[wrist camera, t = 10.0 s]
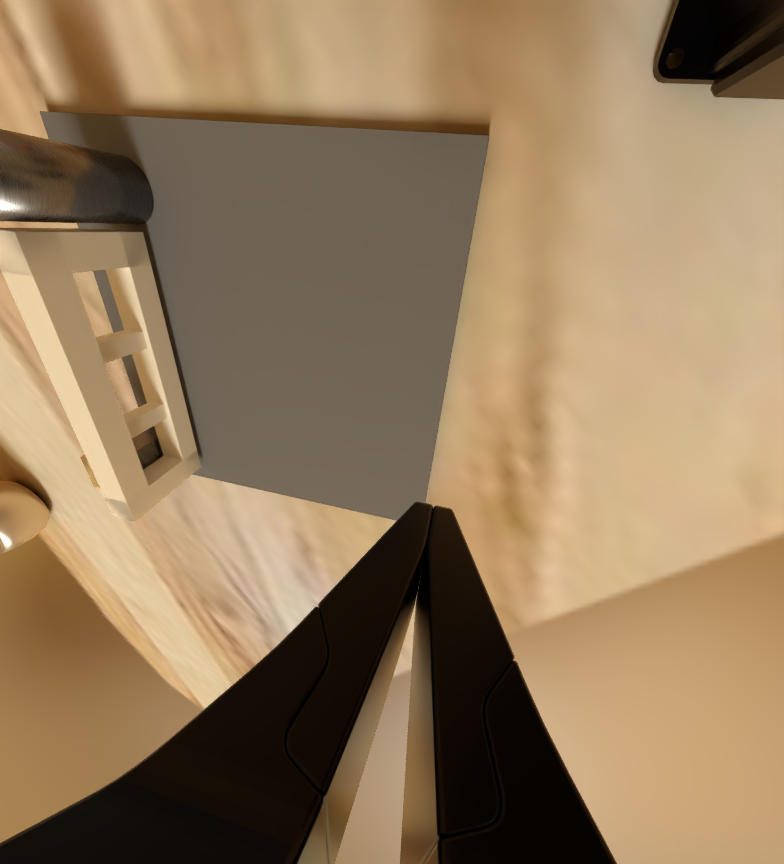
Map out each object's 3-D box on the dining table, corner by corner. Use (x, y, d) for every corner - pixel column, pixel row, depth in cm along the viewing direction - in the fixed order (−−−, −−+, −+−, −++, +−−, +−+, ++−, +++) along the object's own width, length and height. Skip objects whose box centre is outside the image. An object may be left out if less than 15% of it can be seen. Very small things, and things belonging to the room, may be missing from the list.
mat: (50, 114, 18) (39, 111, 17) (488, 138, 14) (489, 135, 14) (163, 463, 29) (158, 466, 28) (421, 521, 26) (420, 526, 25)
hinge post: (102, 154, 18) (-105, 112, 12) (152, 158, 17) (-35, 116, 11) (121, 222, 19) (-53, 216, 13) (167, 226, 19) (10, 224, 13)
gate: (117, 229, 19) (-19, 227, 14) (143, 232, 18) (14, 232, 13) (182, 462, 27) (112, 516, 22) (201, 466, 27) (134, 522, 21)
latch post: (155, 415, 26) (80, 457, 21) (182, 420, 26) (113, 464, 21) (163, 441, 28) (94, 487, 23) (189, 447, 27) (125, 494, 22)
